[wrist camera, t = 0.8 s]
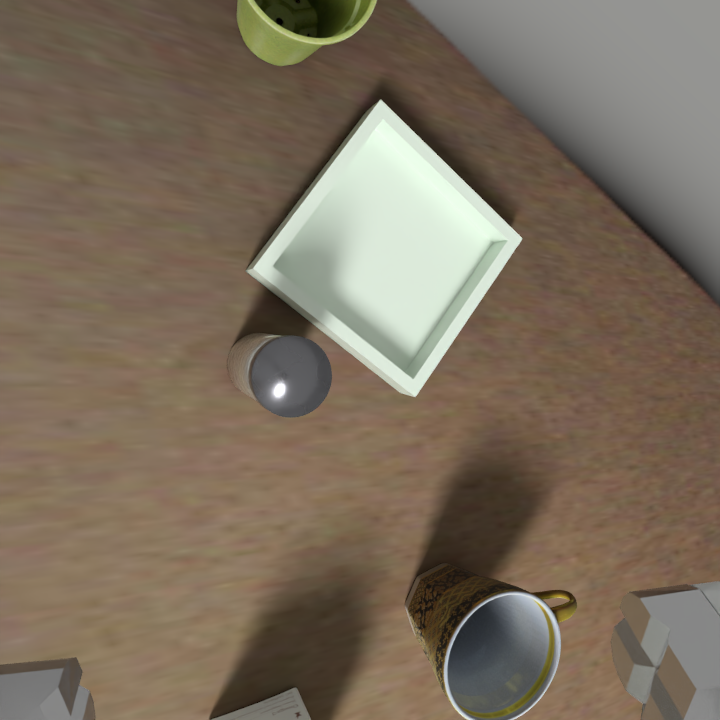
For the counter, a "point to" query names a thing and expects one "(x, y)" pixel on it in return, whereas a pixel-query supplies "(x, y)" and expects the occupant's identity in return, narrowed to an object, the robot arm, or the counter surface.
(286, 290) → the tray
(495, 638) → the ceramic cup
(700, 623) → the robot arm
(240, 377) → the shaker
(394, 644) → the counter surface
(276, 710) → the supplement box
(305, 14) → the plant pot
